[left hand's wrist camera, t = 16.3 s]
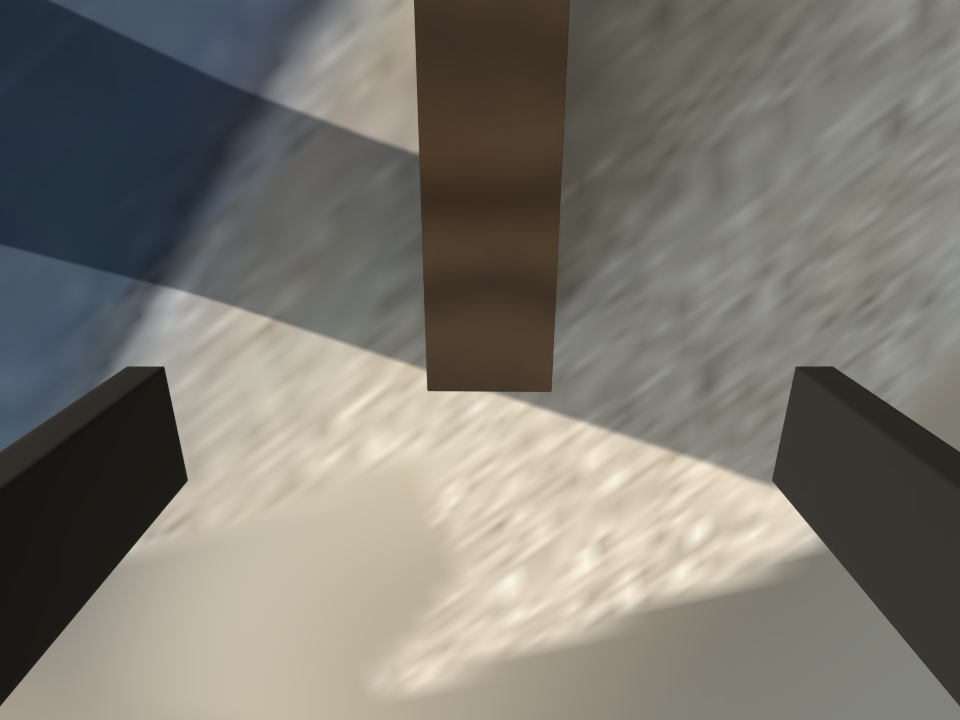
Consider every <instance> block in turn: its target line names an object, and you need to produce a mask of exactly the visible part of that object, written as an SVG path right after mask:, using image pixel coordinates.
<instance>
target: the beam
mask: <svg viewBox="0 0 960 720" xmlns="http://www.w3.org/2000/svg"><path fill="white" fill-rule="evenodd" d="M569 4H570V0H414V12H415V42H416V71H417V100H418V130H419V159H420V188H421V218H422V247H423V276H424V306H425V335H426V364H427V390H428V391H492V392H551V391H552V369H553V348H554V326H555V305H556V283H557V262H558V240H559V219H560V197H561V176H562V154H563V133H564V111H565V90H566V68H567V47H568V25H569Z"/></svg>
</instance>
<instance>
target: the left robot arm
mask: <svg viewBox="0 0 960 720" xmlns="http://www.w3.org/2000/svg"><path fill="white" fill-rule="evenodd" d="M187 481H188V479H187V474H186V469H185V464H184V459H183V455H182V450H181V445H180V440H179V435H178V431H177V426H176V421H175V416H174V411H173V407H172V402H171V397H170V392H169V388H168V383H167V378H166V373H165V368H164V367H126V368H124V369H123V370H121V371H120V372H119V373H117V374H116V375H114V376H113V377H111V378H110V379H108V380H107V381H105V382H104V383H102V384H101V385H99V386H98V387H96V388H95V389H93V390H92V391H90V392H89V393H87V394H86V395H84V396H83V397H81V398H80V399H78V400H77V401H75V402H74V403H72V404H71V405H69V406H68V407H66V408H65V409H64V410H62V411H61V412H59V413H58V414H56V415H55V416H53V417H52V418H50V419H49V420H47V421H46V422H44V423H43V424H41V425H40V426H38V427H37V428H35V429H34V430H32V431H31V432H29V433H28V434H26V435H25V436H23V437H22V438H20V439H19V440H17V441H16V442H14V443H13V444H12V445H10V446H9V447H7V448H6V449H4V450H3V451H1V452H0V706H1V705H2V703H3V702H4V701H5V700H6V699H7V697H8V696H9V695H10V694H11V693H12V691H13V690H14V689H15V688H16V686H17V685H18V684H19V683H20V682H21V681H22V679H23V678H24V677H25V676H26V675H27V673H28V672H29V671H30V670H31V668H32V667H33V666H34V665H35V664H36V662H37V661H38V660H39V659H40V658H41V656H42V655H43V654H44V653H45V652H46V650H47V649H48V648H49V647H50V646H51V644H52V643H53V642H54V641H55V640H56V638H57V637H58V636H59V635H60V634H61V632H62V631H63V630H64V629H65V628H66V626H67V625H68V624H69V623H70V622H71V620H72V619H73V618H74V617H75V616H76V614H77V613H78V612H79V611H80V609H81V608H82V607H83V606H84V605H85V604H86V602H87V601H88V600H89V599H90V598H91V596H92V595H93V594H94V593H95V592H96V590H97V589H98V588H99V587H100V586H101V584H102V583H103V582H104V581H105V579H106V578H107V577H108V576H109V575H110V573H111V572H112V571H113V570H114V569H115V568H116V566H117V565H118V564H119V563H120V561H121V560H122V559H123V558H124V557H125V555H126V554H127V553H128V552H129V551H130V549H131V548H132V547H133V546H134V545H135V543H136V542H137V541H138V540H139V539H140V537H141V536H142V535H143V534H144V533H145V531H146V530H147V529H148V528H149V527H150V525H151V524H152V523H153V522H154V521H155V519H156V518H157V517H158V516H159V515H160V513H161V512H162V511H163V510H164V509H165V507H166V506H167V505H168V504H169V503H170V501H171V500H172V499H173V498H174V497H175V495H176V494H177V493H178V492H179V491H180V489H181V488H182V487H183V486H184V485H185V483H186V482H187ZM772 481H773V482H774V483H775V485H776V486H777V487H778V488H779V489H780V491H781V492H782V493H783V494H784V495H785V497H786V498H787V499H788V500H789V501H790V503H791V504H792V505H793V506H794V507H795V509H796V510H797V511H798V512H799V513H800V515H801V516H802V517H803V518H804V519H805V521H806V522H807V523H808V524H809V525H810V527H811V528H812V529H813V530H814V531H815V533H816V534H817V535H818V536H819V537H820V539H821V540H822V541H823V542H824V543H825V545H826V546H827V547H828V548H829V549H830V551H831V552H832V553H833V554H834V555H835V557H836V558H837V559H838V560H839V561H840V563H841V564H842V565H843V566H844V568H845V569H846V570H847V571H848V572H849V573H850V575H851V576H852V577H853V578H854V580H855V581H856V582H857V583H858V584H859V586H860V587H861V588H862V589H863V590H864V592H865V593H866V594H867V595H868V596H869V598H870V599H871V600H872V601H873V602H874V604H875V605H876V606H877V607H878V608H879V610H880V611H881V612H882V613H883V614H884V616H885V617H886V618H887V619H888V620H889V622H890V623H891V624H892V625H893V626H894V628H895V629H896V630H897V631H898V632H899V634H900V635H901V636H902V637H903V638H904V640H905V641H906V642H907V643H908V644H909V646H910V647H911V648H912V649H913V650H914V652H915V653H916V654H917V655H918V656H919V658H920V659H921V660H922V661H923V662H924V664H925V665H926V666H927V667H928V668H929V670H930V671H931V672H932V673H933V675H934V676H935V677H936V678H937V679H938V681H939V682H940V683H941V684H942V685H943V687H944V688H945V689H946V690H947V691H948V692H949V694H950V695H951V696H952V697H953V698H954V700H955V701H956V702H957V703H958V705H959V706H960V452H959V451H957V450H956V449H954V448H953V447H951V446H950V445H948V444H947V443H945V442H944V441H943V440H941V439H940V438H938V437H937V436H935V435H934V434H932V433H931V432H929V431H928V430H926V429H925V428H923V427H922V426H920V425H919V424H917V423H916V422H914V421H913V420H911V419H910V418H908V417H907V416H905V415H904V414H902V413H901V412H899V411H898V410H896V409H895V408H893V407H892V406H891V405H889V404H888V403H886V402H885V401H883V400H882V399H880V398H879V397H877V396H876V395H874V394H873V393H871V392H870V391H868V390H867V389H865V388H864V387H862V386H861V385H859V384H858V383H856V382H855V381H853V380H852V379H850V378H849V377H847V376H846V375H844V374H843V373H841V372H840V371H839V370H837V369H836V368H834V367H796V368H795V373H794V378H793V383H792V388H791V392H790V397H789V402H788V407H787V411H786V416H785V421H784V426H783V431H782V435H781V440H780V445H779V450H778V455H777V459H776V464H775V469H774V474H773V478H772Z"/></svg>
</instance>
